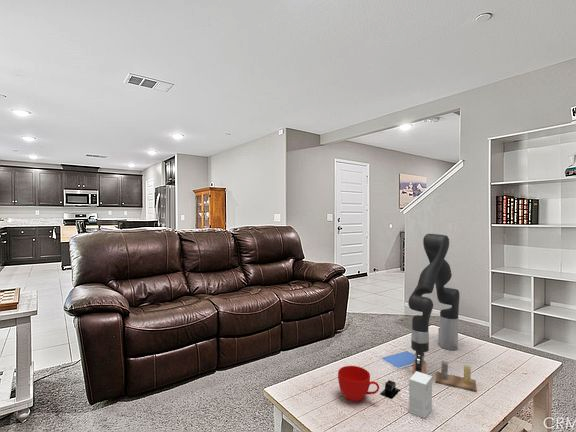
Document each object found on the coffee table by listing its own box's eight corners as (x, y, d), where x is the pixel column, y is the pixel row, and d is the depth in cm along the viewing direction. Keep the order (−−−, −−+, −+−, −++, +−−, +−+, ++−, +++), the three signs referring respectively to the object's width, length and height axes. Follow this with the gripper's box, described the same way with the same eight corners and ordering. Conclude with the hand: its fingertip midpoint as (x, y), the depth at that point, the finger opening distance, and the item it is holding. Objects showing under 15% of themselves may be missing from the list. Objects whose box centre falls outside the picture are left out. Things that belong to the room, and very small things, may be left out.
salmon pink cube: (412, 377, 150) (413, 363, 150) (414, 372, 155) (414, 359, 155) (425, 380, 148) (425, 366, 148) (425, 375, 153) (426, 361, 152)
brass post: (463, 383, 144) (464, 367, 144) (463, 380, 146) (463, 365, 146) (470, 385, 143) (470, 369, 143) (470, 382, 145) (470, 366, 145)
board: (435, 382, 146) (435, 365, 146) (436, 373, 154) (436, 357, 154) (476, 392, 139) (476, 373, 139) (475, 382, 147) (475, 364, 147)
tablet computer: (397, 371, 158) (397, 368, 158) (379, 360, 169) (379, 357, 169) (426, 362, 166) (426, 360, 166) (406, 352, 178) (406, 350, 178)
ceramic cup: (373, 414, 124) (374, 388, 124) (332, 400, 133) (332, 375, 133) (383, 397, 135) (383, 373, 135) (344, 385, 144) (345, 362, 144)
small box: (415, 402, 131) (416, 370, 131) (432, 408, 127) (432, 375, 127) (408, 412, 125) (408, 378, 125) (425, 419, 121) (426, 384, 121)
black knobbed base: (388, 384, 146) (388, 374, 146) (404, 390, 141) (404, 380, 141) (375, 396, 136) (375, 385, 136) (392, 403, 132) (392, 392, 132)
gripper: (413, 332, 159) (412, 367, 160) (409, 343, 146) (408, 380, 147) (430, 335, 156) (429, 370, 156) (427, 346, 143) (426, 385, 143)
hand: (419, 375), depth 151 cm, fingers closed on salmon pink cube, 5 cm apart
